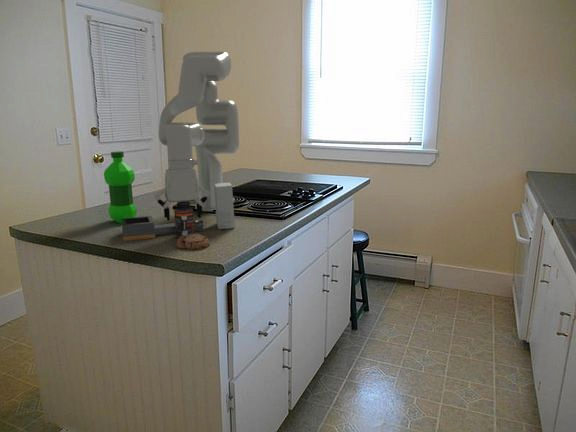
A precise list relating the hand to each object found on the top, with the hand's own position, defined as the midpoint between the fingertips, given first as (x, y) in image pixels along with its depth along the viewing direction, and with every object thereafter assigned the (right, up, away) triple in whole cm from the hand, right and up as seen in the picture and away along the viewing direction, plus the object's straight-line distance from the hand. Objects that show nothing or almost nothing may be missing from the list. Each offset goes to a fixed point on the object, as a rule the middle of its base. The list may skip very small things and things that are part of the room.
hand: (183, 218), depth 147 cm
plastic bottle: (-27, -1, +21) cm, 34 cm away
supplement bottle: (0, -6, +2) cm, 6 cm away
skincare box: (+11, -3, +14) cm, 18 cm away
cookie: (+4, -9, -6) cm, 11 cm away
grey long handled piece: (-8, -5, +6) cm, 11 cm away
